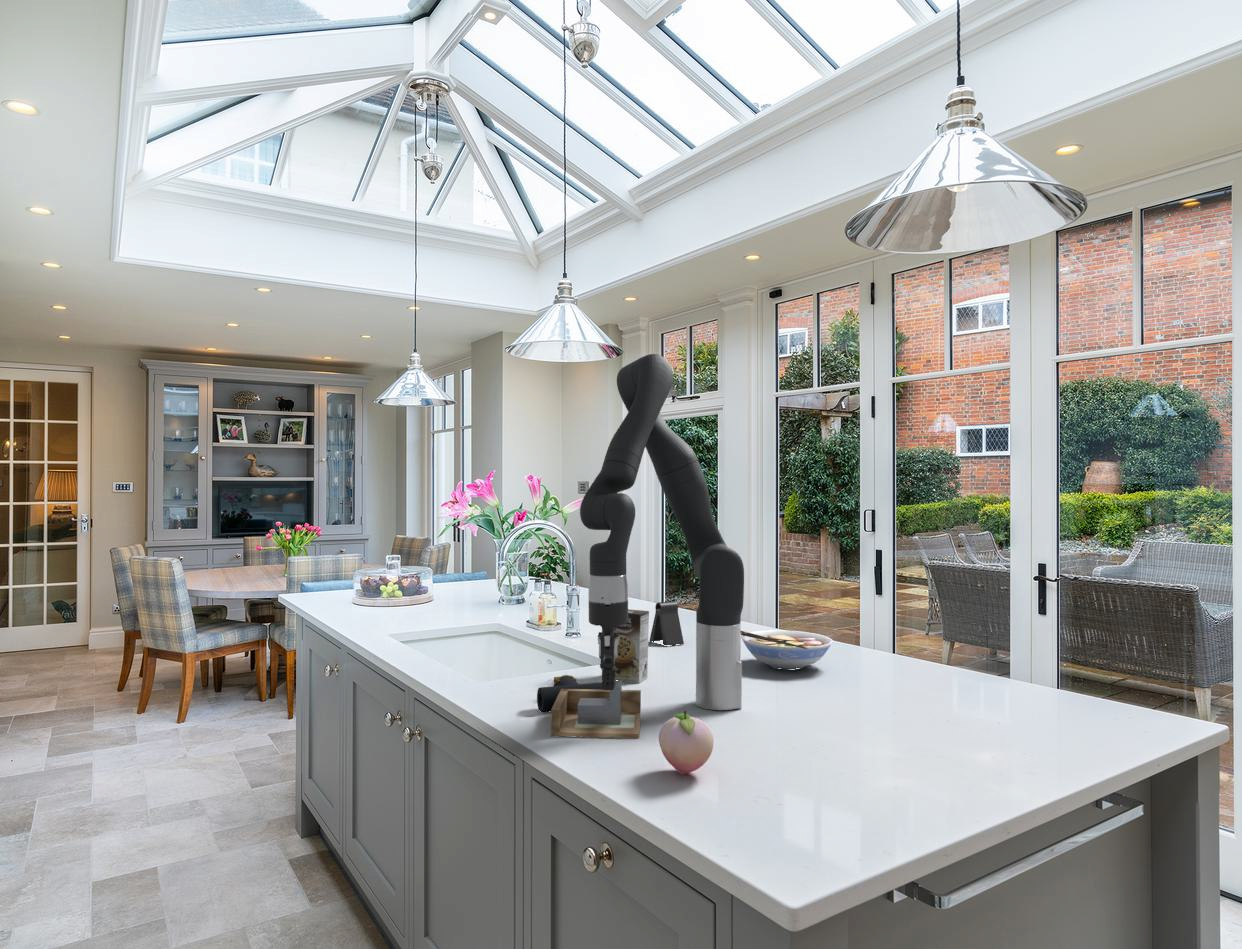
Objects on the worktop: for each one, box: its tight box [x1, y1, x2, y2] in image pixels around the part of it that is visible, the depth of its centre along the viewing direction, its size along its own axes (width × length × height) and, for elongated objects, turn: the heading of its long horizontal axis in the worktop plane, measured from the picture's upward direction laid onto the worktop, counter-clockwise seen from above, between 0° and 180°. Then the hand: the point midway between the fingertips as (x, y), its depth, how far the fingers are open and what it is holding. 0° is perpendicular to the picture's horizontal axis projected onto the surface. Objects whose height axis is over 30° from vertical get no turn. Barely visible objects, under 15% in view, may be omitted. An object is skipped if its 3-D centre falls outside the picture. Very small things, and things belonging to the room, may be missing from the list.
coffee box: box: [614, 608, 650, 684], centre depth 186 cm, size 9×6×16 cm
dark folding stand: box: [649, 600, 685, 645], centre depth 229 cm, size 9×6×12 cm, turn 31°
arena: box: [550, 689, 642, 739], centre depth 150 cm, size 16×15×5 cm
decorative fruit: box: [658, 710, 714, 775], centre depth 125 cm, size 9×8×10 cm
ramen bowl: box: [741, 629, 834, 669], centre depth 200 cm, size 25×23×8 cm
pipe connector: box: [536, 674, 603, 713], centre depth 165 cm, size 12×5×15 cm
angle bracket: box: [578, 680, 623, 725], centre depth 150 cm, size 5×8×7 cm, turn 87°
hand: (608, 684), depth 149 cm, fingers open, 8 cm apart
